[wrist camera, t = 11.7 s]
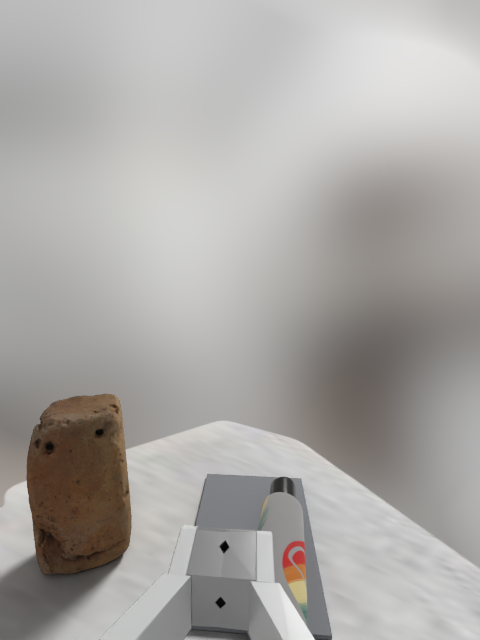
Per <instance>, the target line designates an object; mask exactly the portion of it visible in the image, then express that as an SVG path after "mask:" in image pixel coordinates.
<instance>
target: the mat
mask: <svg viewBox="0 0 480 640" xmlns="http://www.w3.org/2000/svg"><path fill="white" fill-rule="evenodd" d="M277 478H278V477H259V476H239V475H220V474H207V478H206V482H205V486H204V491H203V495H202V499H201V504H200V508H199V512H198V517H197V521H196V525H195V526H202V527H211V528H221V529H239V530H256V531H259V523H260V516H261V509H262V504H263V502H264V500H265V498H266V497H267V496H269V495H270V487H271V483H272V482H273V481H274V480H275V479H277ZM290 479H291V480H292V481H293V482H294V484H295V487H296V499H297V500H298V501H299V503H300V504H301V507H302V510H303V521H304V543H305V565H306V587H307V609H308V629H309V631H310V632H311V634H312V636H313V637H314V639H321V640H332V633H331V628H330V623H329V618H328V613H327V608H326V603H325V598H324V593H323V588H322V582H321V577H320V572H319V567H318V562H317V557H316V552H315V547H314V542H313V537H312V532H311V526H310V521H309V516H308V511H307V506H306V501H305V496H304V491H303V486H302V481H301V479H298V478H290ZM191 629H194V630H206V631H219V632H232V633H244V634H248V632H247V631H246V630H238V629H230V628H222V627H208V626H191Z"/></svg>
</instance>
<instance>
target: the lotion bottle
mask: <svg viewBox="0 0 480 640" xmlns="http://www.w3.org/2000/svg"><path fill="white" fill-rule="evenodd" d="M259 531H270V532H272V536H273V557H274V577H275V583H280V585H281V586H282V588H283V590H284V591H285V593H286V594H287V596H288V598H289V599H290V601H291V602H292V604H293V605H294V607H295V609H296V610H297V612H298V613H299V615H300V617H301V618H302V620H303V621H304V623H305V625H306V626H307V628H308V609H307V587H306V565H305V543H304V521H303V510H302V507H301V504H300V503H299V501H298V500H297V499H296V487H295V484H294V482H293V481H292V480H291V479H290V478H288V477H279V478H277V479H275V480H274V481H273V482H272V483H271V487H270V495H269V496H267V497H266V498H265V500H264V502H263V504H262V509H261V516H260V523H259ZM247 632H248V636H249V638H250V640H251V637H250V635H249V631H247Z"/></svg>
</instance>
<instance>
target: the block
mask: <svg viewBox="0 0 480 640" xmlns="http://www.w3.org/2000/svg"><path fill="white" fill-rule="evenodd" d="M120 406H121V405H120V401H119V398H118V397H117V396H115V395H112V394H102V395H95V396H75V397H71V398H68V399H64V400H59V401H57V402H53V403H52V404H51V405H50V406H49V407H48V408H47V409H46V410H45V411H44V412H43V414H42V415H41V417H40V420H41V424H39V425H36V426H35V428H34V430H33V434H32V437H31V442H30V446H29V451H28V458H27V488H28V494H29V504H30V509H31V512H32V520H33V531H34V540H35V548H36V556H37V560H38V564H39V566H40V568H41V570H42V572H43V574H55V573H56V574H60V573H67V574H70V573H76V572H79V571H83V570H86V569H90V568H95V567H98V566H101V565H103V564H106V563H108V562H110V561H112V560H114V559H116V558H117V557H119V556H121V555H122V554H123V553H124V552H125V551H126V550H127V548H128V546H129V542H130V535H131V505H130V493H129V483H128V472H127V462H126V452H125V441H124V430H123V421H122V411H121V407H120Z"/></svg>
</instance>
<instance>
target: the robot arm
mask: <svg viewBox="0 0 480 640" xmlns="http://www.w3.org/2000/svg"><path fill="white" fill-rule="evenodd" d="M191 626H208V627H222V628H230V629H238V630H246V631H249V635H250V637H251V640H315V639H314V637H313V636H312V634H311V632H310V631H309V629H308V628H307V626H306V625H305V623H304V621H303V620H302V618H301V617H300V615H299V613H298V612H297V610H296V609H295V607H294V605H293V604H292V602H291V601H290V599H289V598H288V596H287V594H286V593H285V591H284V590H283V588H282V586H281V585H280V583H275V577H274V557H273V536H272V532H270V531H256V530H239V529H221V528H211V527H202V526H189V525H183V526H182V528H181V530H180V533H179V537H178V540H177V544H176V547H175V551H174V554H173V557H172V561H171V564H170V568H169V571H168V574H162V575H161V576H160V577H159V578H158V579H157V580H156V581H155V582H154V583H153V584H152V585H151V587H150V588H149V589H148V590H147V591H146V592H145V593H144V594H143V595H142V596H141V597H140V598H139V599H138V600H137V601H136V602H135V603H134V604H133V605H132V606H131V607H130V608H129V609H128V610H127V611H126V612H125V613H124V614H123V615H122V616H121V617H120V618H119V619H118V620H117V621H116V622H115V623H114V624H113V625H112V626H111V628H110V629H109V630H108V631H107V632H106V633H105V634H104V635H103V636H102V637H101V638H100V639H99V640H184V639H185V637H186V636H187V634H188V632H189V631H190V629H191Z"/></svg>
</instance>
